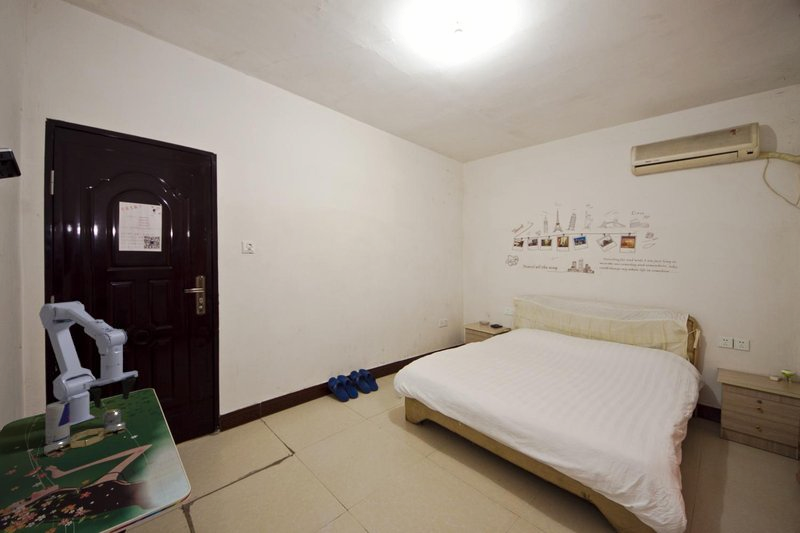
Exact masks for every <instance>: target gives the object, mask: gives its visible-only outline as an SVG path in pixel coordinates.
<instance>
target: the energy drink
mask: <svg viewBox="0 0 800 533" xmlns="http://www.w3.org/2000/svg"><path fill="white" fill-rule="evenodd" d="M70 437H71V426H70V403H69V401H60V400H58V401H56V402H52V403H49V404H47V405H46V407H45V444H46V445H50V444H53V443H56V442H58V441H61V440H64V439H67V438H70Z"/></svg>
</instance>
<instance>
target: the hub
mask: <svg viewBox="0 0 800 533" xmlns="http://www.w3.org/2000/svg"><path fill="white" fill-rule="evenodd" d="M102 415H103V416H102V419H103V420H102V421H103V422H102V423H103V425H102V428H104V429H105V427H107V426H111V425H114V424H118V423H122V422H121V408H112V409H109V410H106V411H104V412H103V414H102Z"/></svg>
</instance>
